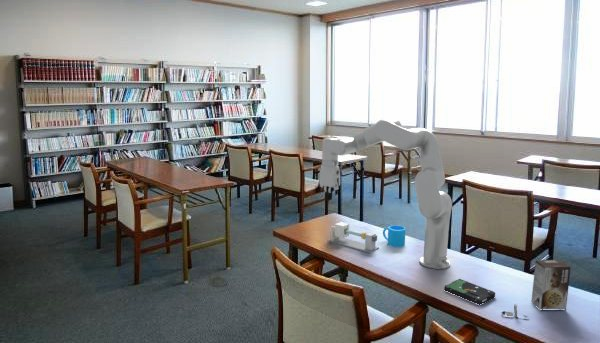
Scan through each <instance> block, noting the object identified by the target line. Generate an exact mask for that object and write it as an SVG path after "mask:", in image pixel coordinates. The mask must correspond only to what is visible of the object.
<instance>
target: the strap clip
mask: <svg viewBox="0 0 600 343" xmlns="http://www.w3.org/2000/svg"><path fill="white" fill-rule="evenodd" d="M513 311H514V312H512V311H507V310H503V312H505V313H506V315H507V316H513V314H514V313H515V314H514V317H515V316H516V317H517V314H518V305H517V304H514V305H513ZM505 313H504V314H505ZM516 317H515V318H516Z"/></svg>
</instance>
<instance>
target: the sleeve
mask: <svg viewBox="0 0 600 343" xmlns="http://www.w3.org/2000/svg"><path fill="white" fill-rule="evenodd" d="M334 226H335V236H336V237H340V238H347V237H349V235H350V234H349V233H345V232H344V229H346V230H350V223H346V222H342V221H340V222H337V223H335V224H334Z"/></svg>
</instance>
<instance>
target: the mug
mask: <svg viewBox="0 0 600 343" xmlns="http://www.w3.org/2000/svg"><path fill="white" fill-rule="evenodd" d="M386 231H387V236H386ZM406 231H407V230H406V227H405V226H402V225H390V226H388V227H385V228H384V229H383V230H382V235H383V238H384V239H385V240H386V241H387V245H388V246H389V247H393V248H402V247H405V245H406Z"/></svg>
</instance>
